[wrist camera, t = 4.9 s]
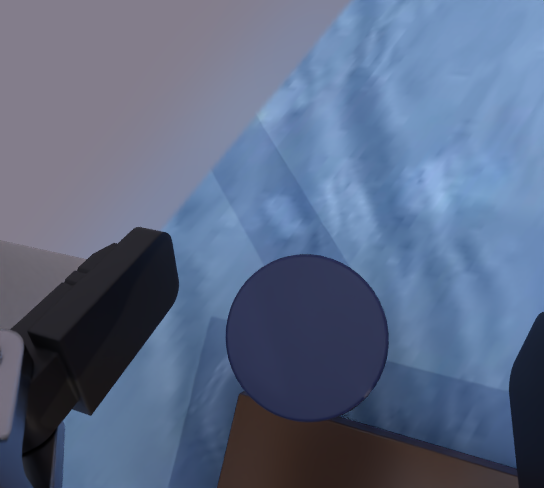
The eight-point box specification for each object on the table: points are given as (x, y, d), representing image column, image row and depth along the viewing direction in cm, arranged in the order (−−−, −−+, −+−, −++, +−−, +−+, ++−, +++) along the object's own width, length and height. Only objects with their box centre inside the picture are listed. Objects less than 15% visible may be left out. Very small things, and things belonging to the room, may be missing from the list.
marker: (297, 357, 16) (207, 396, 8) (313, 282, 17) (244, 240, 8) (373, 377, 16) (369, 445, 7) (389, 299, 16) (403, 271, 7)
